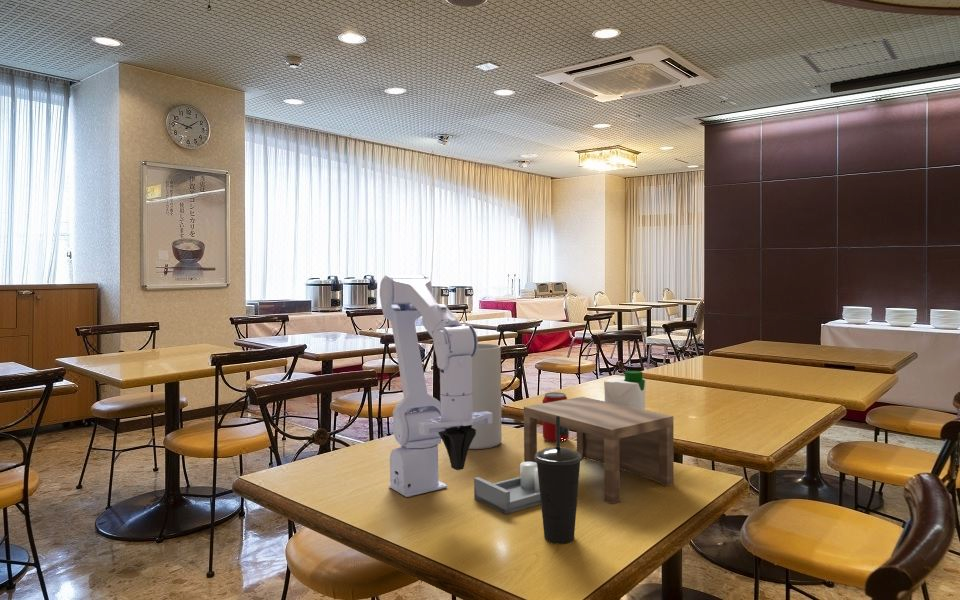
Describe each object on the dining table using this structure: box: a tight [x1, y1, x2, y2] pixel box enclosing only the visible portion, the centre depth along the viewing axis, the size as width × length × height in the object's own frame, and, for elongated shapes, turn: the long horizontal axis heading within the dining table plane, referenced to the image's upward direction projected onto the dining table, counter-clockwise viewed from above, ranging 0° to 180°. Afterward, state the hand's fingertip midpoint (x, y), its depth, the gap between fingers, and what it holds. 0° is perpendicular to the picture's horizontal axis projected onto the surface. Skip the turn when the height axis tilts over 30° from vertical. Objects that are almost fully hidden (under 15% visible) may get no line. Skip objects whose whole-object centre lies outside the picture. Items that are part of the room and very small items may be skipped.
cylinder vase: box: [468, 343, 503, 450], centre depth 158 cm, size 12×12×25 cm
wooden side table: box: [523, 396, 675, 505], centre depth 131 cm, size 18×26×14 cm
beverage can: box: [542, 392, 570, 443], centre depth 160 cm, size 7×7×12 cm
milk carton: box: [603, 370, 647, 410], centre depth 146 cm, size 9×9×20 cm
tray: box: [473, 461, 541, 515], centre depth 119 cm, size 16×10×5 cm, turn 125°
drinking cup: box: [535, 416, 583, 545], centre depth 100 cm, size 8×8×20 cm
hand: (457, 468), depth 110 cm, fingers closed
